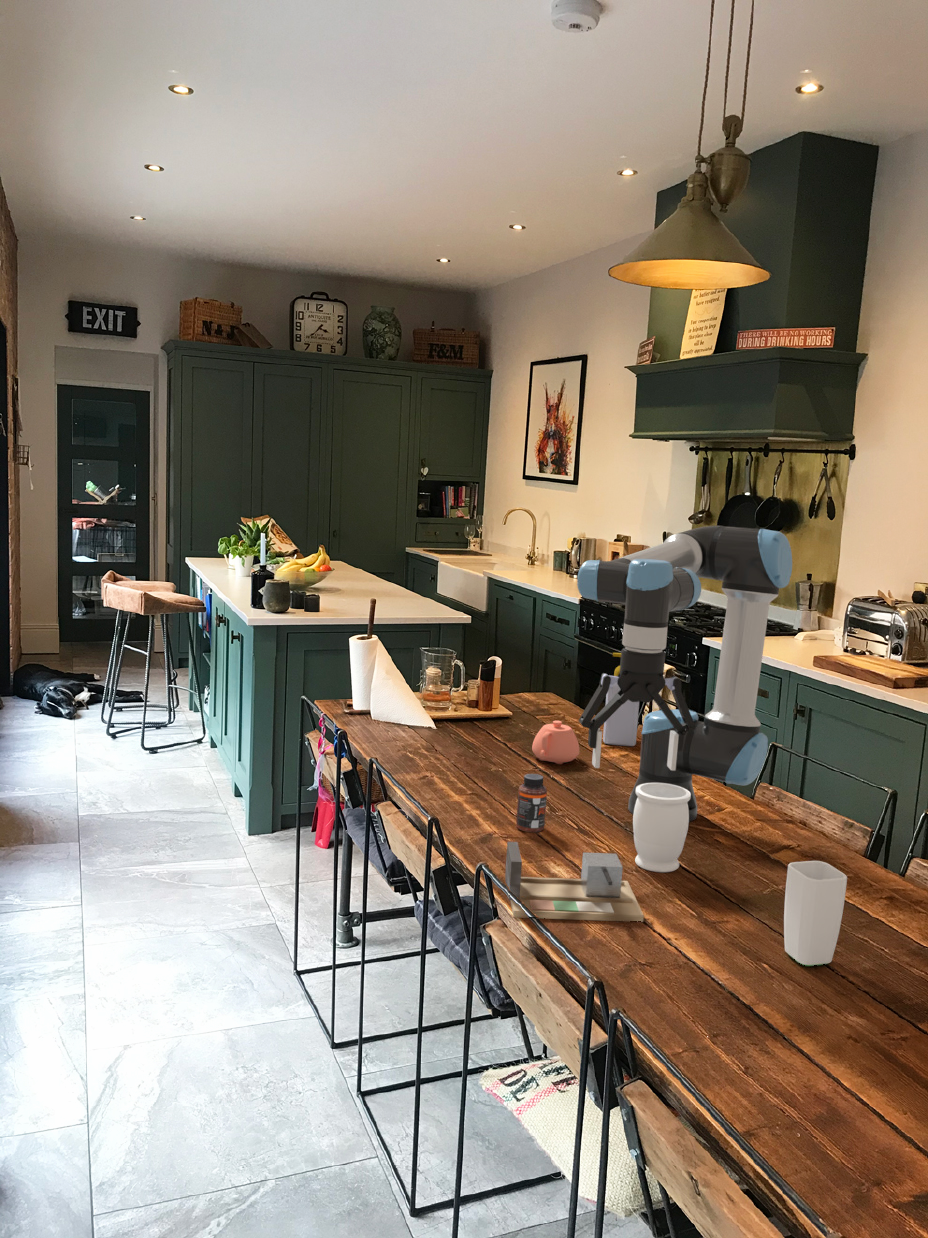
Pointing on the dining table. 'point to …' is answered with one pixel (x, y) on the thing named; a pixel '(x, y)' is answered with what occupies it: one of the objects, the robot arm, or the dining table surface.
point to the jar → (660, 825)
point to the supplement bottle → (531, 804)
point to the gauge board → (564, 896)
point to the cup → (813, 911)
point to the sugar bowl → (556, 743)
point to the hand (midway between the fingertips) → (633, 767)
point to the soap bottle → (621, 719)
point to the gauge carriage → (601, 875)
